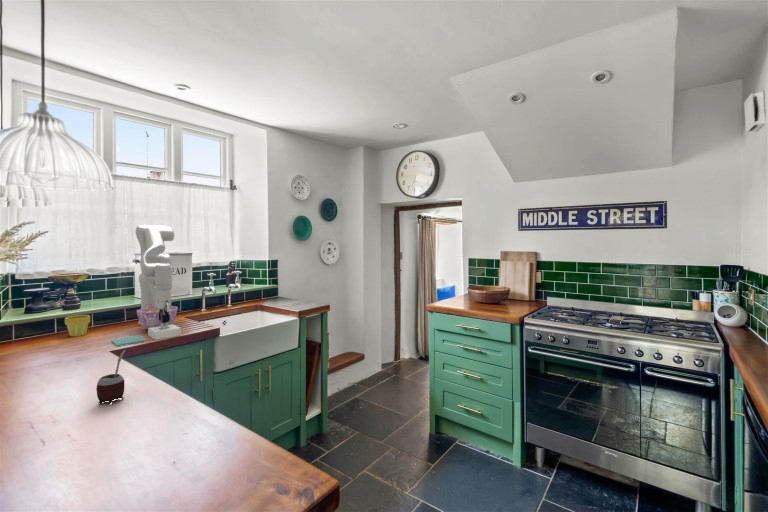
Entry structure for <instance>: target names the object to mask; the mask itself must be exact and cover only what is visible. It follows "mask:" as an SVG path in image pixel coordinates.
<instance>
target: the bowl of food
mask: <svg viewBox="0 0 768 512" xmlns="http://www.w3.org/2000/svg"><path fill="white" fill-rule="evenodd" d="M178 308H179V307H178V306H174V305H171V308H170V321H169V322H168V325H172V324H173V325H174V323H175V321H176V317H177V313H178ZM165 309H166V308H165ZM136 315H137V318H138V322H139V321H140V324H139V325H140V326H141V327H142V328H144V329H146V330H148V328H152V327H159V326H161V321H160V320H159V309H158V308H156V306H155V307H147V308H142V309H141V308H139V309H136Z"/></svg>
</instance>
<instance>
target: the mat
mask: <svg viewBox="0 0 768 512" xmlns="http://www.w3.org/2000/svg"><path fill="white" fill-rule="evenodd" d="M144 341H146V342H147V339H146V338H144V337H142V336H141V335H134V336H128V337H122V338H121V337H120V338H115V339H110V342H111V343H112V344H113V345H114V346H116V347H122V346H121V345H123V346H127V345H126V344H129V345H132V344H131V343H135V344H139V343H138V342H140V343H145V342H144Z"/></svg>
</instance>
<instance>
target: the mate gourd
mask: <svg viewBox="0 0 768 512" xmlns="http://www.w3.org/2000/svg"><path fill="white" fill-rule="evenodd" d="M126 351H127V350H126V349H124V350H123V351H122V352H121V354H120V355H119V357H118V358H117V365H116V368H115V373H111V374H106V375H104V376H101V377H100V378H99V379H98V381H97V383H96V387H95V388H96V396H97V399H98V404H99V403H102V402H105V401H109V402H110V403H111V402H112V400H114V399H118V398H124V394H125V379H124V377H123V375H121V374H120V373H118V372H119V367H120V364H121V363H120V362H121V361H122V357H123V355H124V353H125V352H126Z"/></svg>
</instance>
